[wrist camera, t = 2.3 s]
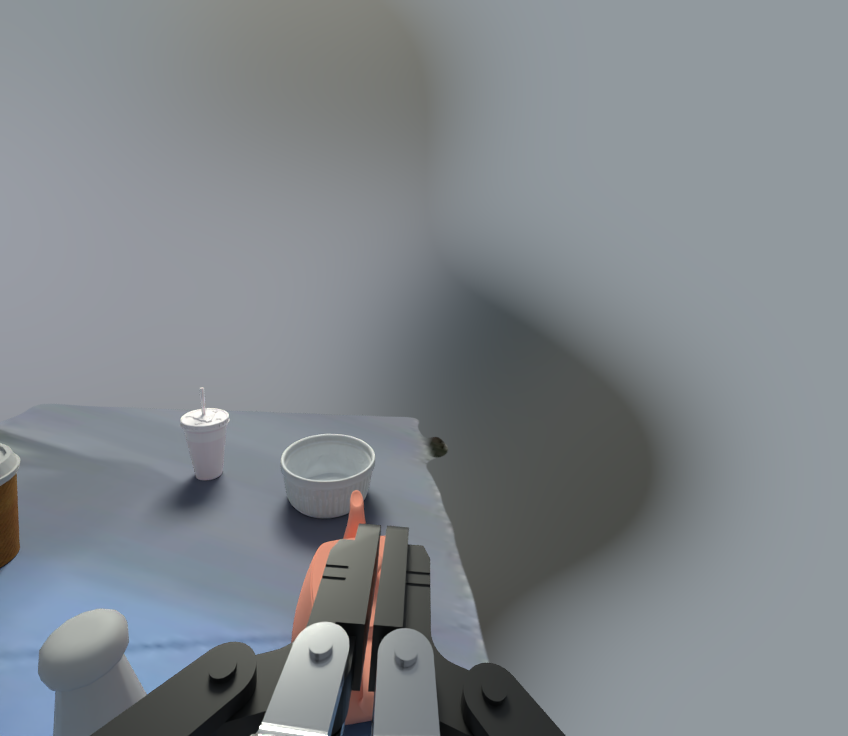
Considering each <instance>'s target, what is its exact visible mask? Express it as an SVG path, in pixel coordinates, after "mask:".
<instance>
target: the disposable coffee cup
mask: <svg viewBox="0 0 848 736" xmlns="http://www.w3.org/2000/svg"><path fill="white" fill-rule="evenodd" d="M19 466H20V457H19V456H18V455H16V454H15V453H13V451H12V450H11V449H10V447H9V446H7V445H4V444H0V568H1V567H2V566H4V565H5V564H7V563H8V562H9V561H11V560H12V559H13V558H14V557H15V556H16V555H17V553H18V551H19V549H20V544H19V521H18V496H17V475H16V473H17V471H18V467H19Z"/></svg>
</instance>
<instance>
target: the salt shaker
mask: <svg viewBox="0 0 848 736" xmlns="http://www.w3.org/2000/svg"><path fill="white" fill-rule="evenodd" d="M128 643H129V636H128V625H127V621H126V619H125V617H124V616H123V615H122V614H120V613H119V612H118V611H116V610H111V609H95V610H92V611H88V612H84V613H81V614H79V615H77V616H75V617H73V618H71V619H69V620H67V621H66V622H65V623H64V624H62V625H61V626H60V627H59V628H58V629H56V630H55V631H54V632H53V633H52V634H51V635H50V636H49V637H48V638H47V640H46V641H45V643H44V644H43V646H42V647H41V649H40V650H39V663H38V674H39V676H40V679H41V681H42V682H43V683H44V684H45V685H46V686H47V687H48V688H49V689H51V690H52V691H55V711H54V731H53V736H90V735H91V734H93V733H94V732H96V731H97V730H98V729H100V728H101V727H103V726H104V725H105V724H107V723H108V722H110V721H111V720H112V719H114V718H115V717H117V716H118V715H119V714H121V713H122V712H124V711H125V710H126V709H128V708H129V707H131V706H132V705H133V704H135V703H136V702H138V701H139V700H140V699H142V698H143V697H145V696H146V695H147V694H146V692H145V690H144V689H143V687H142V685H141V683H140V682H139V680H138V678H137V676H136V674H135V673H134V671H133V669H132V667H131V665H130V664H129V662H128V660H127V658H126V656H125V655H124V652H125V650H126V648H127V645H128Z"/></svg>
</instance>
